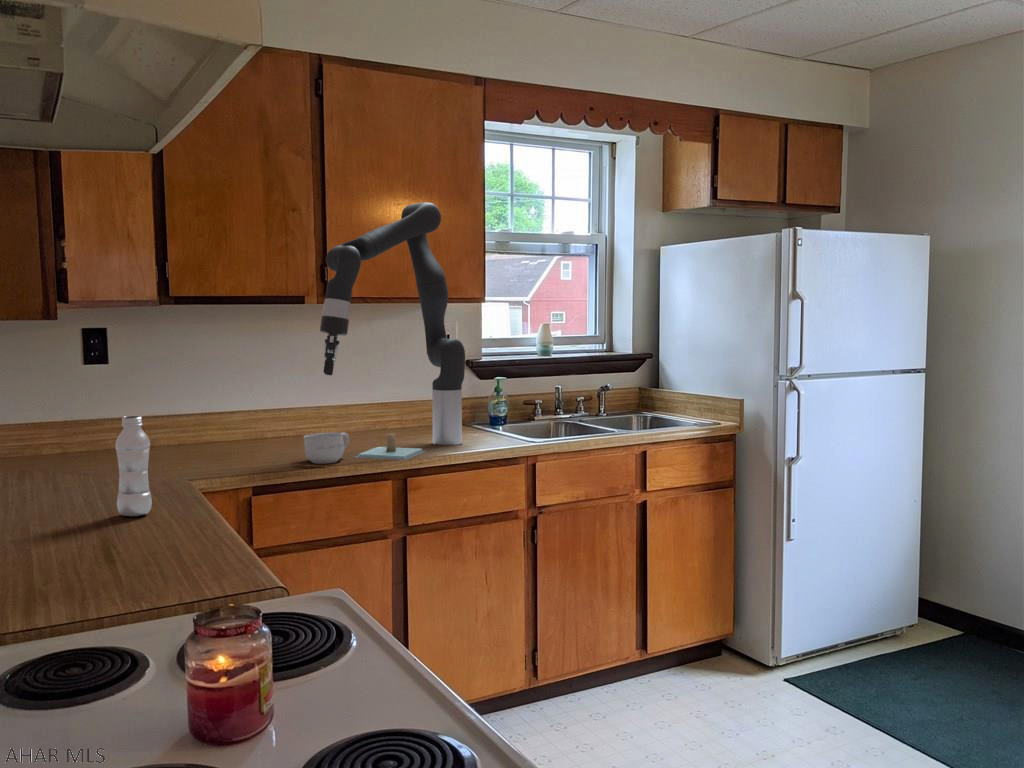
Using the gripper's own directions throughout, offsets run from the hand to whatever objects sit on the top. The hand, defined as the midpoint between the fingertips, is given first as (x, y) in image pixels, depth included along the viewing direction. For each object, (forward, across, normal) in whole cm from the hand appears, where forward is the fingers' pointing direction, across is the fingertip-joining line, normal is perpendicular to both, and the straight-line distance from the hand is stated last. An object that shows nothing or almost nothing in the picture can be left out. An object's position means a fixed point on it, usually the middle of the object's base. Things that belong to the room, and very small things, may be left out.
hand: (327, 374), depth 235 cm
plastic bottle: (+36, -58, +32) cm, 75 cm away
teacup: (+24, -1, -4) cm, 24 cm away
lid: (+20, +7, -20) cm, 30 cm away
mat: (+21, +7, -20) cm, 30 cm away
